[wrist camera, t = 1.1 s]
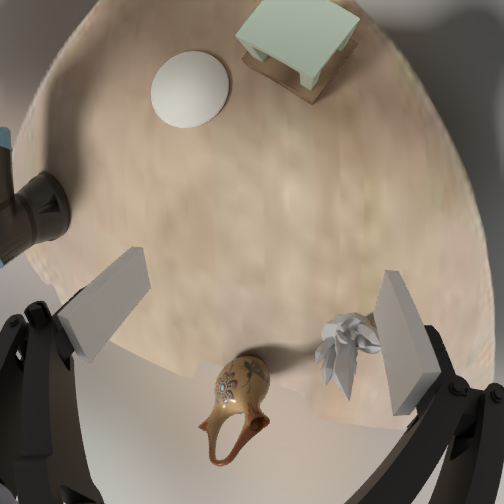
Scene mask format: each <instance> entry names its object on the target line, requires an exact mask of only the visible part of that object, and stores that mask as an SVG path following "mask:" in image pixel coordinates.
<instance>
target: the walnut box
mask: <svg viewBox="0 0 504 504" xmlns="http://www.w3.org/2000/svg"><path fill="white" fill-rule="evenodd" d="M357 44H358V43H356V42H355V41H353V40H352V39H349V41H348V43H347V44H346V46H345V47H344V48H343V49H342V51H339V50H338V49H337V50H336V51H335V53H334V54H333V55H332V57H331V58H330V59H329V60H328V62H327V63H326V64H325V66H324V67H323V68H322V69H321V72H320V75H319V78H318V81H317V83H316V84H315V86H314V87H313V88H312V90H311V91H310V90H309V89H307V88H306V87H304V86H303V85H301V83H300V73H299V72H297V71H296V70H294V69H292V68H291V67H289V66H287V65H286V64H284V63H282V62H280V61H279V60H277V59H275V58H273V57H271V56H269V55H268V56H267V57H266V59H265V60H264V61H263V62H262V61H260V60H258V59H256V58H254V57H253V56H252V55H251V54H250V53H249V52H248V51H247V53H246V54H245V56H244V57H243V58H242V61H243V62H245V63H246V64H247V65H248V66H249V67H250V68H252V69H254V70H256V71H257V72H259V73H261V74H263V75H265V76H266V77H268V78H270V79H272V80H273V81H275V82H277V83H278V84H280V85H282V86H283V87H285V88H287V89H288V90H290V91H291V92H293V93H295V94H296V95H298V96H299V97H301V98H302V99H304V100H305V101H307V102H308V103H310V104H311V105H312V104H313V103H314V102H315V100H316V99H317V98H318V96H319V95H320V93H321V92H322V91H323V89H324V88H325V87H326V86H327V84H328V83H329V82H330V80H331V79H332V78H333V76H334V75H335V74H336V72H337V71H338V70H339V68H340V67H341V66H342V65H343V63H344V62H345V61H346V59H347V58H348V57H349V56H350V54H351V53H352V52H353V50H354V49H355V47H356V46H357Z"/></svg>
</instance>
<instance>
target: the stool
mask: <svg viewBox="0 0 504 504" xmlns="http://www.w3.org/2000/svg"><path fill="white" fill-rule="evenodd" d="M359 21H360V18H358V17H357V16H355V15H354V14H352V13H350V12H349V11H347V10H345V9H344V8H342V7H340V6H339V5H337V4H335V3H333V2H331V1H330V0H263V1H262V2H261V3H260V4H259V5H258V7H257V8H256V9H255V10H254V12H253V13H252V14H251V15H250V16H249V18H248V19H247V20H246V22H245V23H244V24H243V25H242V27H241V28H240V29H239V31H238V32H237V33H236V35H235V37H236V38H237V39H238V40H239V41H240V42H241V43H242V45H243V46H244V47H245V48H246V49H247V50H248V52H249V53H250V54H251V55H252V56H253V57H254V58H256V59H258V60H260V61H262V62H263V61H264V60H265V59H266V57H267V56H268V55H269V56H271V57H273V58H275V59H277V60H279V61H280V62H282V63H284V64H286V65H287V66H289V67H291V68H292V69H294V70H296V71H297V72H299V73H300V83H301V85H303V86H304V87H306V88H307V89H309V90H310V91H311V90H312V88H313V87H314V86H315V84H316V83H317V81H318V78H319V75H320V72H321V69H322V68H323V67H324V66H325V64H326V63H327V62H328V60H329V59H330V58H331V57H332V55H333V54H334V53H335V51H336V50H337V49H338V50H339V51H342V49H343V48H344V47H345V46H346V44H347V43H348V41H349V39H350V37H351V35H352V33H353V32H354V30H355V28H356V26H357V24H358V22H359Z"/></svg>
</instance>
